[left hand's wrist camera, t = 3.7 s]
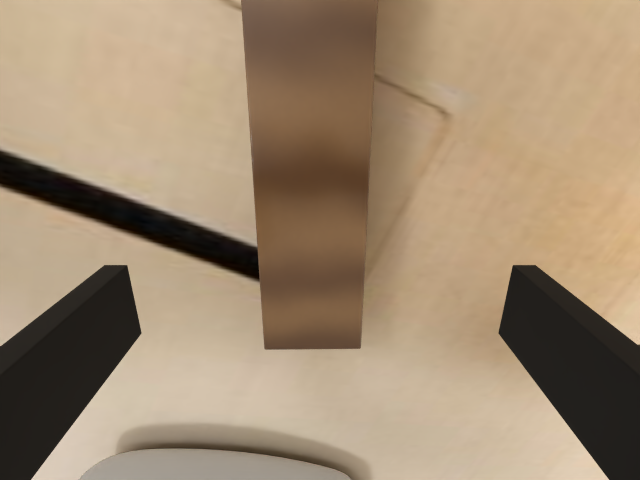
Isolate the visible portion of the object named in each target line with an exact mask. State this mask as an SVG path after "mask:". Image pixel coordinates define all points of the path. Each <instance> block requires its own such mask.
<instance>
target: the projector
mask: <svg viewBox="0 0 640 480" xmlns="http://www.w3.org/2000/svg"><path fill="white" fill-rule="evenodd" d="M79 480H351V479H350V477H349V476H347V475H346V474H344V473H343V472H340V471H338V470H335V469H332V468H328V467H325V466H321V465H317V464H312V463H308V462H303V461H298V460H293V459H288V458H282V457H276V456H269V455H263V454H255V453H246V452H236V451H224V450H208V449H145V450H136V451H129V452H125V453H120V454H117V455H114V456H111V457H108V458H106V459H104V460H102V461H100V462H99V463H97V464H96V465H94V466H93V467H91V468H90V469H89V470H88V471H86V472H85V473H84V474H83V475H82V476H81V477H80V479H79Z"/></svg>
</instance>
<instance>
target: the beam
mask: <svg viewBox="0 0 640 480" xmlns="http://www.w3.org/2000/svg"><path fill="white" fill-rule="evenodd" d="M241 5H242V20H243V35H244V50H245V65H246V80H247V95H248V110H249V125H250V140H251V155H252V170H253V185H254V199H255V214H256V229H257V244H258V259H259V274H260V289H261V304H262V319H263V334H264V348H265V349H360V348H361V332H362V312H363V292H364V271H365V251H366V231H367V210H368V190H369V170H370V149H371V129H372V109H373V88H374V68H375V48H376V27H377V7H378V0H241Z"/></svg>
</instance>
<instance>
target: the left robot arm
mask: <svg viewBox="0 0 640 480" xmlns="http://www.w3.org/2000/svg"><path fill="white" fill-rule="evenodd" d="M140 335H141V329H140V324H139V319H138V314H137V310H136V305H135V300H134V296H133V291H132V286H131V281H130V277H129V272H128V267H127V265H104V266H103V267H102V268H100V269H99V270H98V271H97V272H95V273H94V274H93V275H91V276H90V277H89V278H88V279H86V280H85V281H84V282H83V283H81V284H80V285H79V286H77V287H76V288H75V289H74V290H72V291H71V292H70V293H68V294H67V295H66V296H65V297H63V298H62V299H61V300H59V301H58V302H57V303H56V304H54V305H53V306H52V307H51V308H49V309H48V310H47V311H45V312H44V313H43V314H42V315H40V316H39V317H38V318H36V319H35V320H34V321H33V322H31V323H30V324H29V325H27V326H26V327H25V328H24V329H22V330H21V331H20V332H18V333H17V334H16V335H15V336H13V337H12V338H11V339H10V340H8V341H7V342H6V343H4V344H3V345H2V346H0V480H31V479H32V477H33V476H34V475H35V473H36V472H37V471H38V469H39V468H40V467H41V466H42V464H43V463H44V462H45V460H46V459H47V458H48V456H49V455H50V454H51V452H52V451H53V450H54V448H55V447H56V446H57V444H58V443H59V442H60V440H61V439H62V438H63V436H64V435H65V434H66V432H67V431H68V430H69V428H70V427H71V426H72V425H73V423H74V422H75V421H76V419H77V418H78V417H79V415H80V414H81V413H82V411H83V410H84V409H85V407H86V406H87V405H88V403H89V402H90V401H91V399H92V398H93V397H94V395H95V394H96V393H97V391H98V390H99V389H100V387H101V386H102V385H103V383H104V382H105V381H106V380H107V378H108V377H109V376H110V374H111V373H112V372H113V370H114V369H115V368H116V366H117V365H118V364H119V362H120V361H121V360H122V358H123V357H124V356H125V354H126V353H127V352H128V350H129V349H130V348H131V346H132V345H133V344H134V342H135V341H136V340H137V339H138V337H139V336H140ZM499 335H500V336H501V337H502V339H503V340H504V341H505V342H506V344H507V345H508V346H509V348H510V349H511V350H512V352H513V353H514V354H515V356H516V357H517V358H518V360H519V361H520V362H521V364H522V365H523V366H524V368H525V369H526V370H527V372H528V373H529V374H530V376H531V377H532V378H533V380H534V381H535V382H536V383H537V385H538V386H539V387H540V389H541V390H542V391H543V393H544V394H545V395H546V397H547V398H548V399H549V401H550V402H551V403H552V405H553V406H554V407H555V409H556V410H557V411H558V413H559V414H560V415H561V417H562V418H563V419H564V421H565V422H566V423H567V425H568V426H569V427H570V428H571V430H572V431H573V432H574V434H575V435H576V436H577V438H578V439H579V440H580V442H581V443H582V444H583V446H584V447H585V448H586V450H587V451H588V452H589V454H590V455H591V456H592V458H593V459H594V460H595V462H596V463H597V464H598V466H599V467H600V468H601V469H602V471H603V472H604V473H605V475H606V476H607V477H608V479H609V480H640V345H637V344H636V343H634V342H633V341H632V340H630V339H629V338H628V337H627V336H625V335H624V334H623V333H622V332H620V331H619V330H618V329H616V328H615V327H614V326H613V325H611V324H610V323H609V322H607V321H606V320H605V319H604V318H602V317H601V316H600V315H598V314H597V313H596V312H595V311H593V310H592V309H591V308H589V307H588V306H587V305H586V304H584V303H583V302H582V301H581V300H579V299H578V298H577V297H575V296H574V295H573V294H572V293H570V292H569V291H568V290H566V289H565V288H564V287H563V286H561V285H560V284H559V283H557V282H556V281H555V280H554V279H552V278H551V277H550V276H549V275H547V274H546V273H545V272H543V271H542V270H541V269H540V268H538V267H537V266H536V265H513V267H512V272H511V277H510V281H509V286H508V291H507V296H506V300H505V305H504V310H503V314H502V319H501V324H500V329H499Z"/></svg>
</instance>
